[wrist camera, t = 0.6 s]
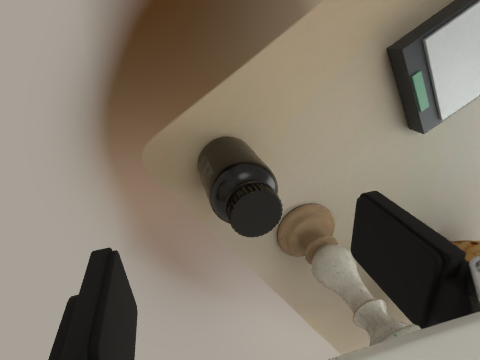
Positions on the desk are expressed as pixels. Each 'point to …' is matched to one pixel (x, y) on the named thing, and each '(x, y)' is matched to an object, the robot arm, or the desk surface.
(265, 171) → the supplement bottle
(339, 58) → the desk surface
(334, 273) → the candle holder
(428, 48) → the scale
